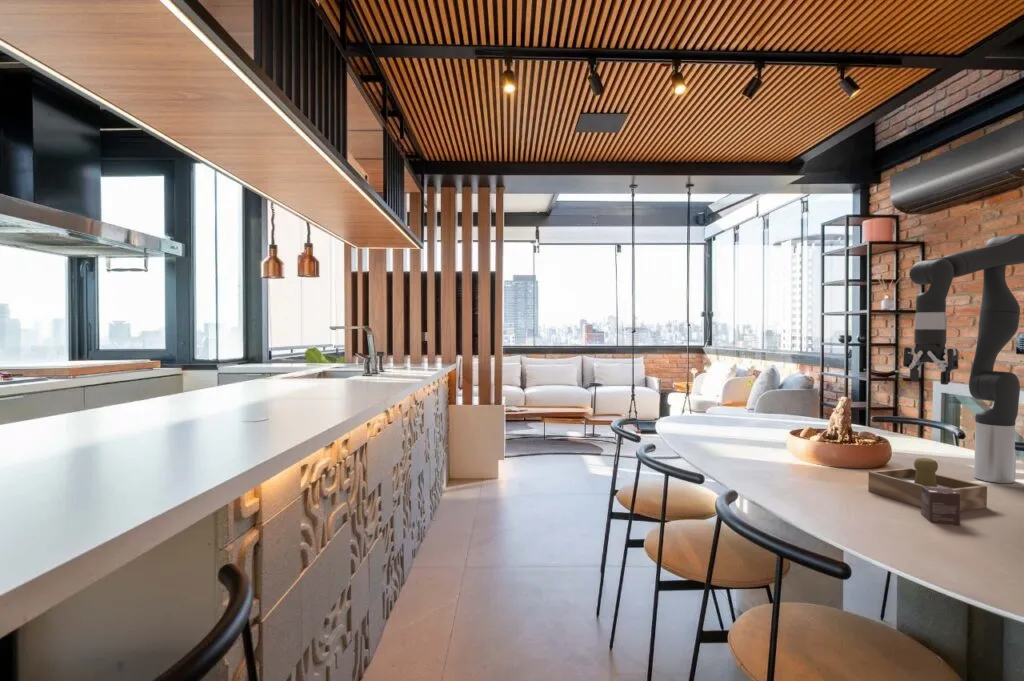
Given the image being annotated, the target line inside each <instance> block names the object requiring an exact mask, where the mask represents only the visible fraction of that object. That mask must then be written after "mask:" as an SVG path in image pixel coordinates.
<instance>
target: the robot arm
mask: <svg viewBox="0 0 1024 681" xmlns="http://www.w3.org/2000/svg"><path fill="white" fill-rule="evenodd" d="M1022 264H1024V233H1013V234H1006V235H1002V236H1001V235H1000V236H995V237H992V238H990V239H989V240H988V241H987V242H986V243H985V244H984V247H978V248H972V249H967V250H963V251H959V252H956V253H955V252H954V253H951V254H948V255H946V256H942V257H938V258H930V259H927V260H926V259H925V260H921V261H918V262H916V263H914V264H913V265H912V266H911V268H910V270H909V272H908V273H909V278H910V281H912V282H913V283H914V284H917V285H920V286H924V285H925V286H926V285H929V287H928V289H927V291H924V292H921V293H918V294H917V296H916V298H915V316H914V332H913V333H914V335H913V336H914V337H913V338H914V340H913V342H914V345H915V347H913V346H911V347H910V346H908V347H907V346H906V347H905V346H904V349H903V361H902V366H903V367H905V368H908V369H909V380H911V382H912V383H918V382H920V369H919V368H920V367H921V366H922V365H924V364H925V363H930V364H933V363H934V364H935V365H936V366H938V368H939V369H940V370H941V371H940V385H949V383H951V372H952V371H954V370H958V369H959V350H958V349H957V348H946V344H947V314H946V313H947V310H946V309H947V307H946V306H947V297H948V294H949V292H950V289H951V285H952V282H953V279H954V278H959V277H963V276H966V275H970V274H973V273H976V272H980V271H983V276H982V277H983V281H982V282H983V283H982V284H983V285H982V295H981V296H982V297H981V304H980V312H979V319H978V332H977V340H976V347H975V352H974V358H973V361H972V366H971V371H970V375H969V378H968V391H969V394H970V396H972V398H974V399H976V400H981V401H989V402H993V407H992V408H990V409H988V410H983V411H979V412H976V414H975V418H974V419H975V420H974V422H975V423H974V465H973V466H974V467H973V468H974V469H973V473H974V474H973V475H974V476H973V477H974V478H976V479H978V480H980V481H985V482H990V483H997V484H998V483H999V484H1013V483H1015V482H1016V477H1017V476H1016V475H1017V474H1016V470H1017V469H1016V467H1017V450H1016V421H1017V420H1016V419H1017V418H1018V415H1019V405H1020V404H1019V402H1020V392H1021V385H1020V384H1021V383H1020V380H1019V378H1018V377H1017V375H1016V374H1015V373H1013V372H1010V371H998V370H997V371H996V370H994V367H995V362H996V359H997V356H998V355H999V353H1000V352H1001V351H1002V349H1004V348H1005V346H1006V345H1007V344H1008V343H1009V342H1010V341H1011V340H1012V339H1013V338H1014V336H1015V335H1016V334H1017V332H1018V329H1019V325H1020V314H1021V306H1020V304H1019V302H1018V300H1017V299H1016V297H1015V295H1014V294H1013V293H1012V291H1011V290H1010V288H1009V286H1008V284H1007V281H1006V269H1007V266H1013V265H1022ZM914 355H915V357H914ZM945 355H946V357H945Z"/></svg>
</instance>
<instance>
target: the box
mask: <svg viewBox="0 0 1024 681" xmlns="http://www.w3.org/2000/svg"><path fill="white" fill-rule="evenodd" d="M920 515H921V516H922V517H924V518H925V519H926V520H927V521H928V522H929V523H942V524H953V525H960V524H961V511H960V494H959V493H957V492H956V491H954V490H952V489H951V488H946V487H933V486H922V490H921V507H920Z"/></svg>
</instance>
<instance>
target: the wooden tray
mask: <svg viewBox="0 0 1024 681" xmlns="http://www.w3.org/2000/svg"><path fill="white" fill-rule="evenodd" d="M935 474H936V481H937V487H946V488H951V489H952V490H954V491H956V492H957V493H959V494H960V512H963V511H970V510H971V511H972V510H979V509H987V507H988V506H987V505H988V485H983V484H979V483H974V482H970V481H967V480H963V479H960V478H959V479H958V478H954V477H950V476H945V475H942V474H938V473H935ZM915 476H916V469H915V468H914V467H913V468H912V467H905V468H894V469H883V470H875V471H874V470H873V471H872V470H871V471H868V487H867V488H868V492H869V493H874V494H876V495H879V496H883V497H887V498H890V499H893V500H897V501H900V502H903V503H906V504H909V505H912V506H915V507H920V508H921V490H922V486H924V485H920V484H916V483H914V481H915Z"/></svg>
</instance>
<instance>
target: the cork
mask: <svg viewBox="0 0 1024 681" xmlns="http://www.w3.org/2000/svg"><path fill="white" fill-rule="evenodd" d="M913 466H914V467H913V468H914V469H916V476H915V481H914V483H916V484H920V485H924V486H933V487H937V481H936V474H937V473H936V472H937V471H938V469H939V464H938V462H937V461H936V460H935V459H931V458H926V457H919V458H915V460H914V462H913Z"/></svg>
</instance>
